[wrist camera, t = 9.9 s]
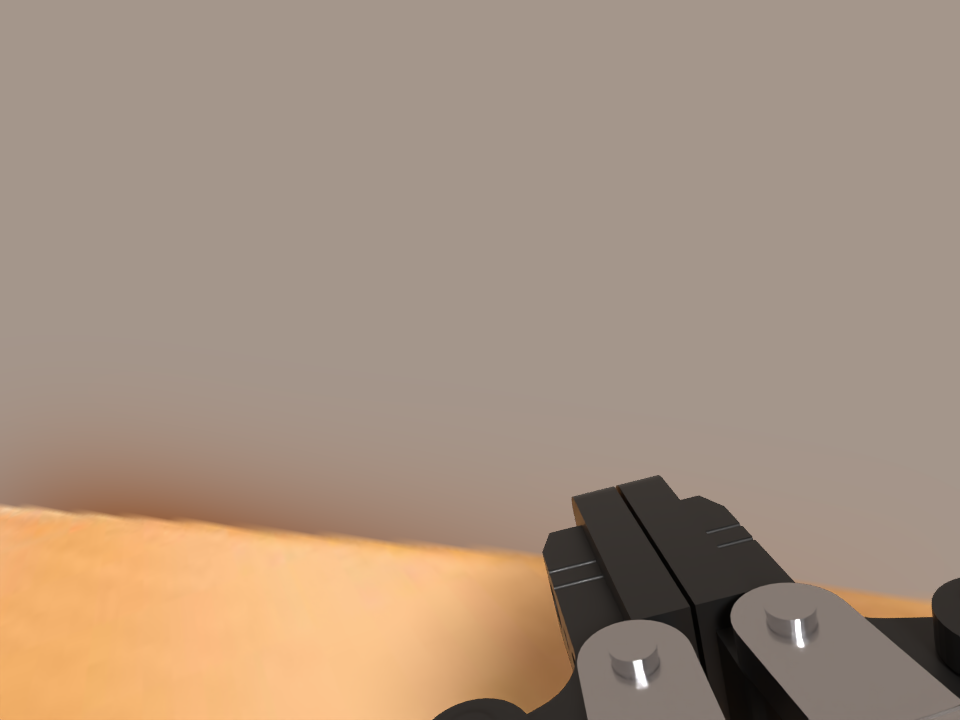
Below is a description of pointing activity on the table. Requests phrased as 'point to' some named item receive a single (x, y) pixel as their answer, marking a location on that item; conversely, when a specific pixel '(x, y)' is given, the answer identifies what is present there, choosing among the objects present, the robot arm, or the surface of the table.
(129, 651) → the table surface
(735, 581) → the robot arm
